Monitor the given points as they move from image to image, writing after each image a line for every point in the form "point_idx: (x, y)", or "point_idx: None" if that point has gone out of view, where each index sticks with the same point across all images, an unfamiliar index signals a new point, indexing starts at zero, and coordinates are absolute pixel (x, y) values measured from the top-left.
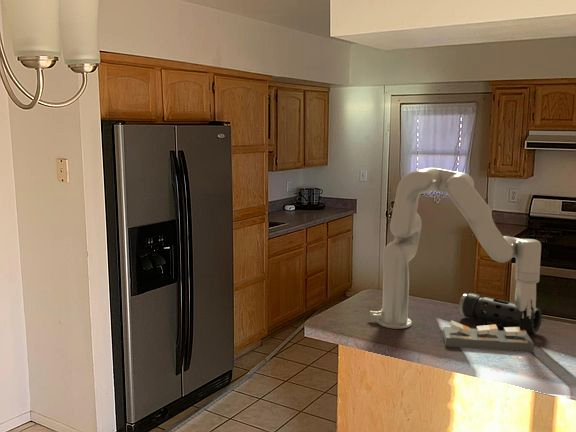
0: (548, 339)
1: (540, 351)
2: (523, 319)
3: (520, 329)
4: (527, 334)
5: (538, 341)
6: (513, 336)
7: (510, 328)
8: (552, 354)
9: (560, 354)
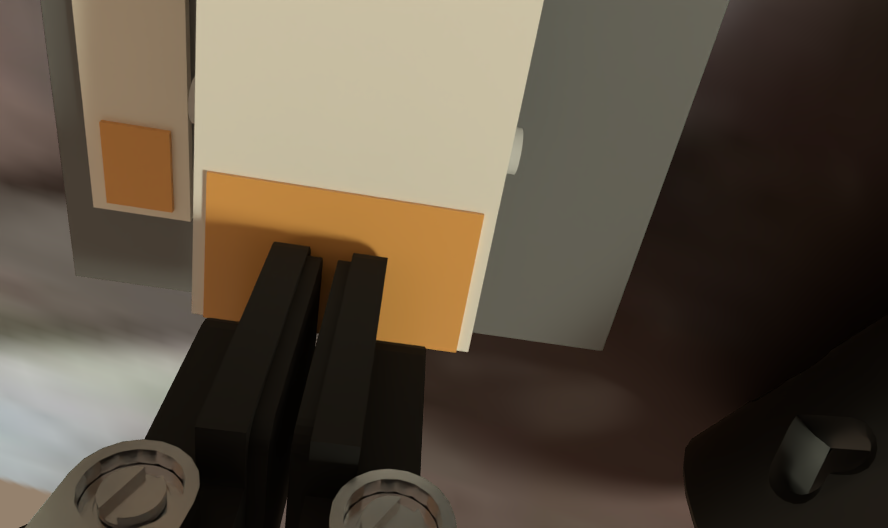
0: (596, 501)
1: None
2: (150, 459)
3: (306, 245)
4: (502, 332)
5: (542, 397)
6: None
7: (435, 62)
8: (137, 388)
9: None
